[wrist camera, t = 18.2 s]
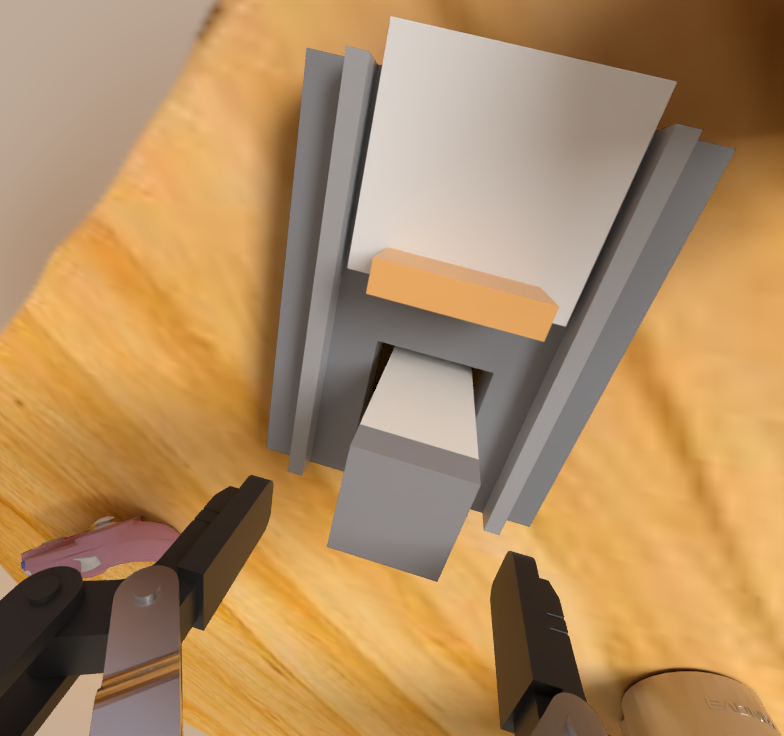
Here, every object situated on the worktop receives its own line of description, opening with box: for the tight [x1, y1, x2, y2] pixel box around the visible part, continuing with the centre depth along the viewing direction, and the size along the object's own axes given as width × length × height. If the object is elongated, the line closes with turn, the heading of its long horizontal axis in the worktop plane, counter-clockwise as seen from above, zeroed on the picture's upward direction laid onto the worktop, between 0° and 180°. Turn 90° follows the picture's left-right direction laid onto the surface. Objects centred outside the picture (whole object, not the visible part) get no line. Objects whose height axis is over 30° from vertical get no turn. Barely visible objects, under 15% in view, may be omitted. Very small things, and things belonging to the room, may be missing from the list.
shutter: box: [347, 16, 677, 342], centre depth 12 cm, size 8×9×4 cm
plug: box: [327, 346, 481, 582], centre depth 16 cm, size 4×4×10 cm
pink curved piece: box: [21, 516, 180, 578], centre depth 28 cm, size 10×5×7 cm, turn 114°
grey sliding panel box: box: [266, 46, 736, 535], centre depth 17 cm, size 18×15×4 cm
